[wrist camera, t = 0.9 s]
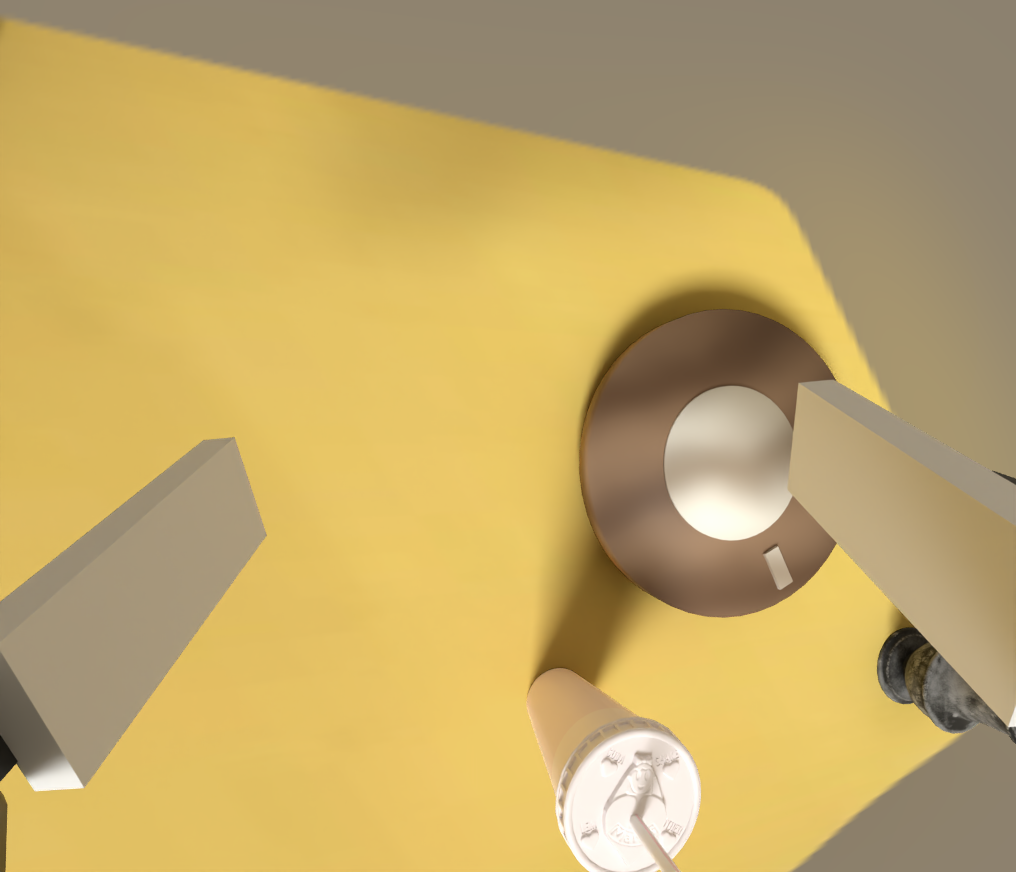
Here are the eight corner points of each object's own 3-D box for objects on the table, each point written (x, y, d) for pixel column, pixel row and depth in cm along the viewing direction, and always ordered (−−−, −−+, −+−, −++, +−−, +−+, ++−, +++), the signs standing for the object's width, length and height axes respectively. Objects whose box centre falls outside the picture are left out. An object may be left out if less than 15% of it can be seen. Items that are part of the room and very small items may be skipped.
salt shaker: (928, 610, 39) (1163, 680, 28) (948, 686, 40) (1188, 787, 28) (864, 642, 38) (1085, 732, 26) (886, 721, 38) (1112, 843, 27)
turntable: (527, 390, 31) (536, 387, 29) (773, 270, 35) (792, 262, 34) (656, 666, 33) (671, 678, 31) (875, 522, 37) (898, 525, 35)
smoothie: (495, 753, 31) (594, 990, 18) (513, 639, 32) (625, 788, 18) (598, 757, 33) (762, 977, 20) (615, 648, 33) (787, 791, 20)
